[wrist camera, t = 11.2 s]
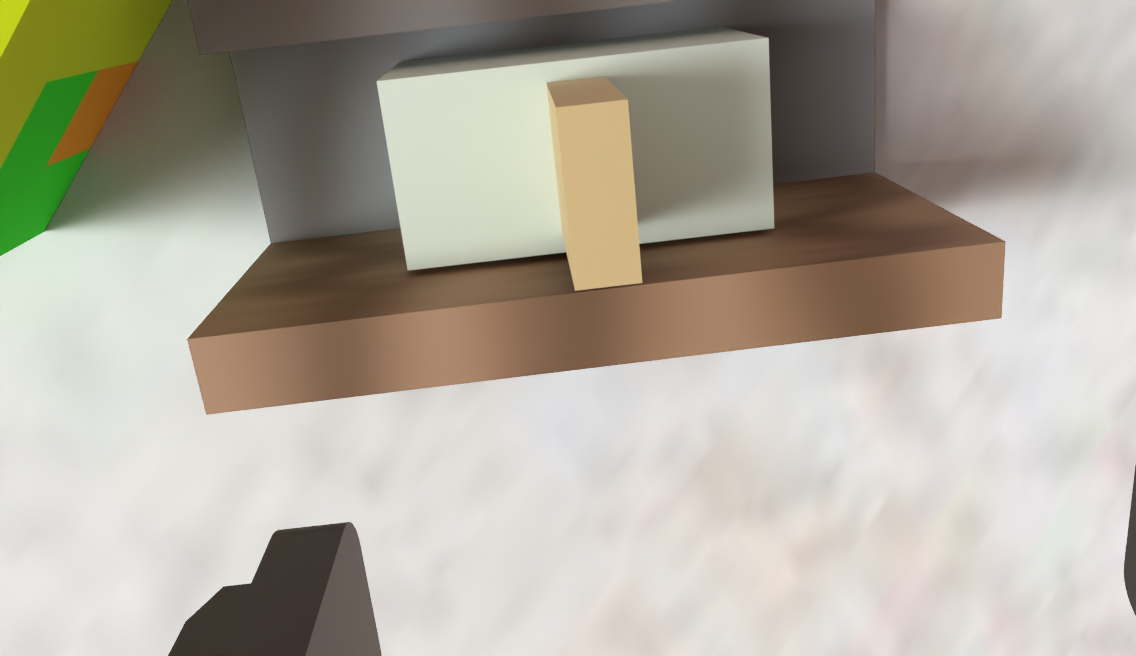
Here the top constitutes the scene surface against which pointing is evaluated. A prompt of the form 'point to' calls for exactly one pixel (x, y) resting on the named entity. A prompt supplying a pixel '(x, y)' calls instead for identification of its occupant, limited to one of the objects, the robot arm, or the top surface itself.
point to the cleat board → (349, 126)
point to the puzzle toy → (59, 96)
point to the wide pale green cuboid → (581, 149)
